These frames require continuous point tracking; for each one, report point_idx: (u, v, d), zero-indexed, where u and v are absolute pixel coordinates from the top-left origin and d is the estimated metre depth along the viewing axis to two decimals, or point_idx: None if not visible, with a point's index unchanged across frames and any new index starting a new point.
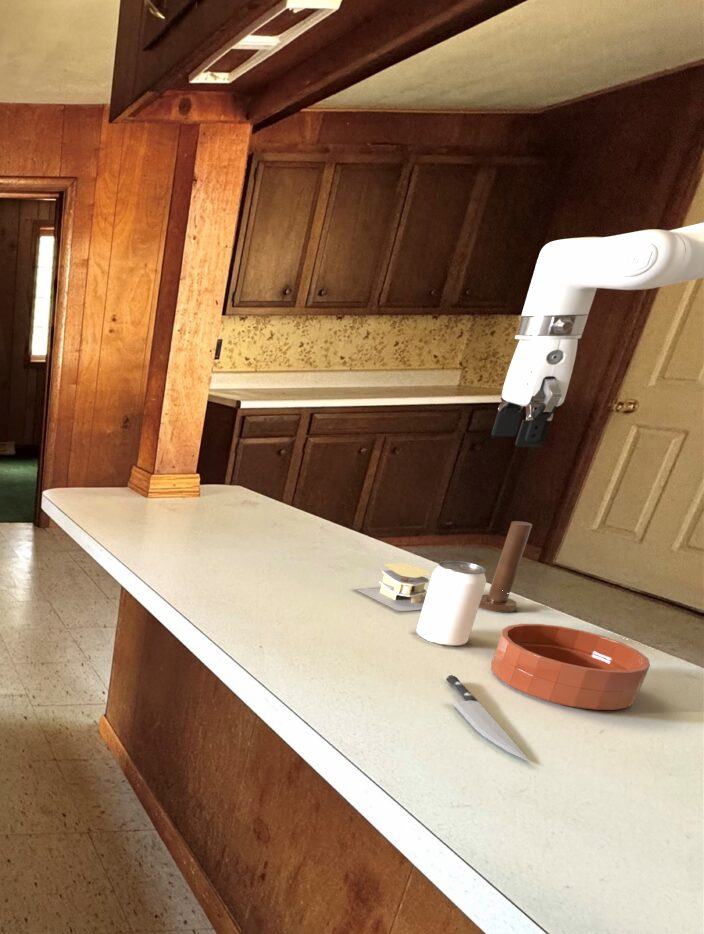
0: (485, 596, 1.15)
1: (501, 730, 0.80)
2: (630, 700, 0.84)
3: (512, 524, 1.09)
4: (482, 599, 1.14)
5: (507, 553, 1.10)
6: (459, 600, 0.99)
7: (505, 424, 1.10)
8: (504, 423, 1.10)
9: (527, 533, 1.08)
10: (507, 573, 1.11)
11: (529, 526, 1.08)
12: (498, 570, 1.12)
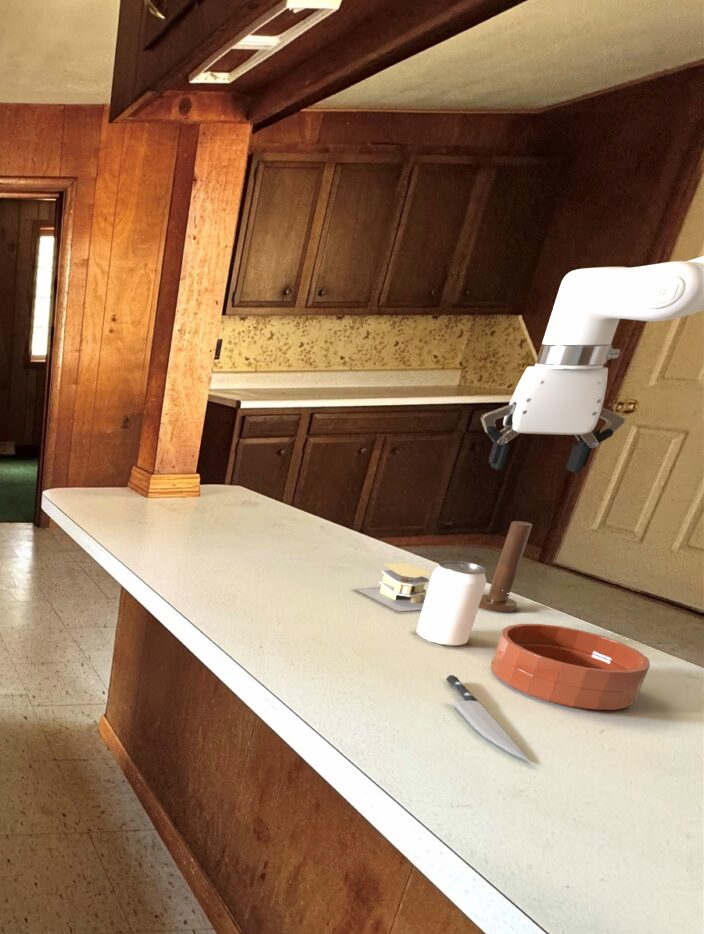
0: (485, 596, 1.15)
1: (501, 730, 0.80)
2: (630, 700, 0.84)
3: (512, 524, 1.09)
4: (482, 599, 1.14)
5: (507, 553, 1.10)
6: (459, 600, 0.99)
7: None
8: None
9: (527, 533, 1.08)
10: (507, 573, 1.11)
11: (529, 526, 1.08)
12: (498, 570, 1.12)
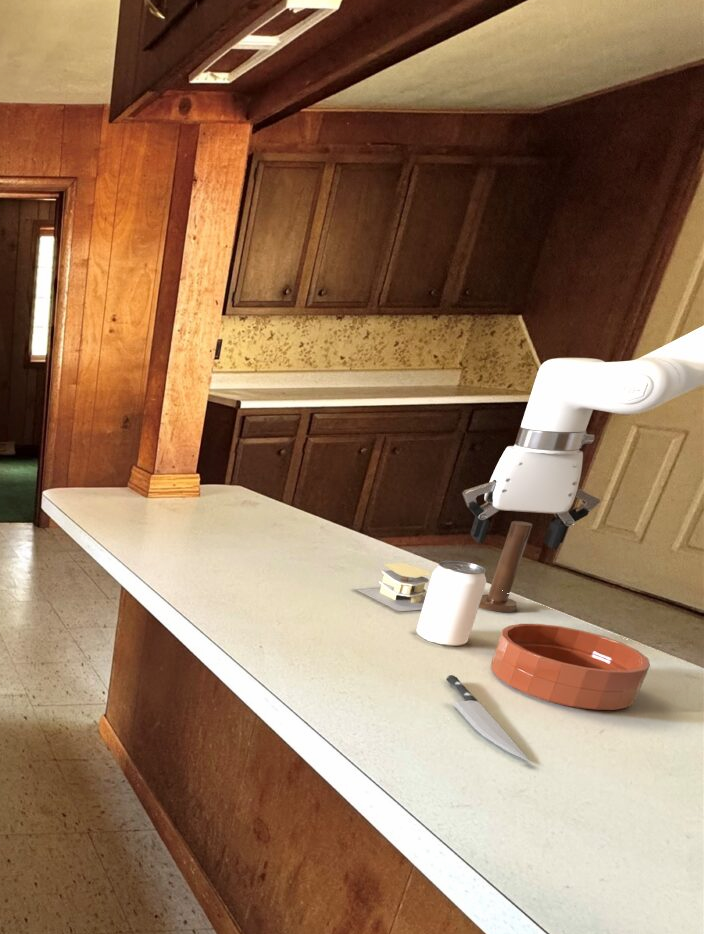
0: (485, 596, 1.15)
1: (501, 730, 0.80)
2: (630, 700, 0.84)
3: (512, 524, 1.09)
4: (482, 599, 1.14)
5: (507, 553, 1.10)
6: (459, 600, 0.99)
7: None
8: None
9: (527, 533, 1.08)
10: (507, 573, 1.11)
11: (529, 526, 1.08)
12: (498, 570, 1.12)
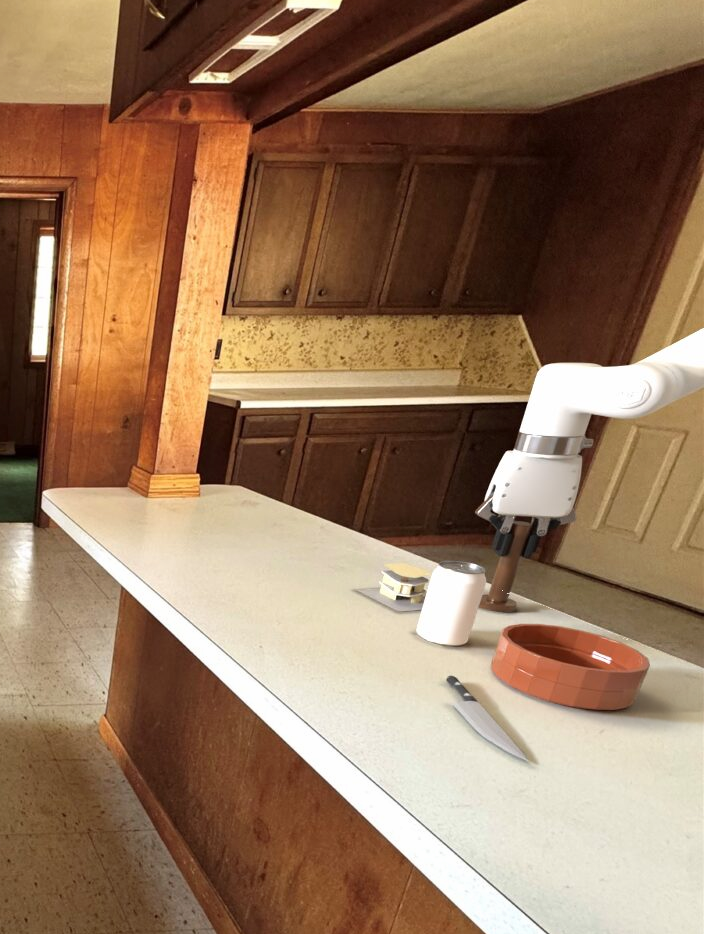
0: (485, 596, 1.15)
1: (501, 730, 0.80)
2: (630, 700, 0.84)
3: (512, 524, 1.09)
4: (482, 599, 1.14)
5: (507, 553, 1.10)
6: (459, 600, 0.99)
7: None
8: None
9: (527, 533, 1.08)
10: (507, 573, 1.11)
11: (529, 526, 1.08)
12: (498, 570, 1.12)
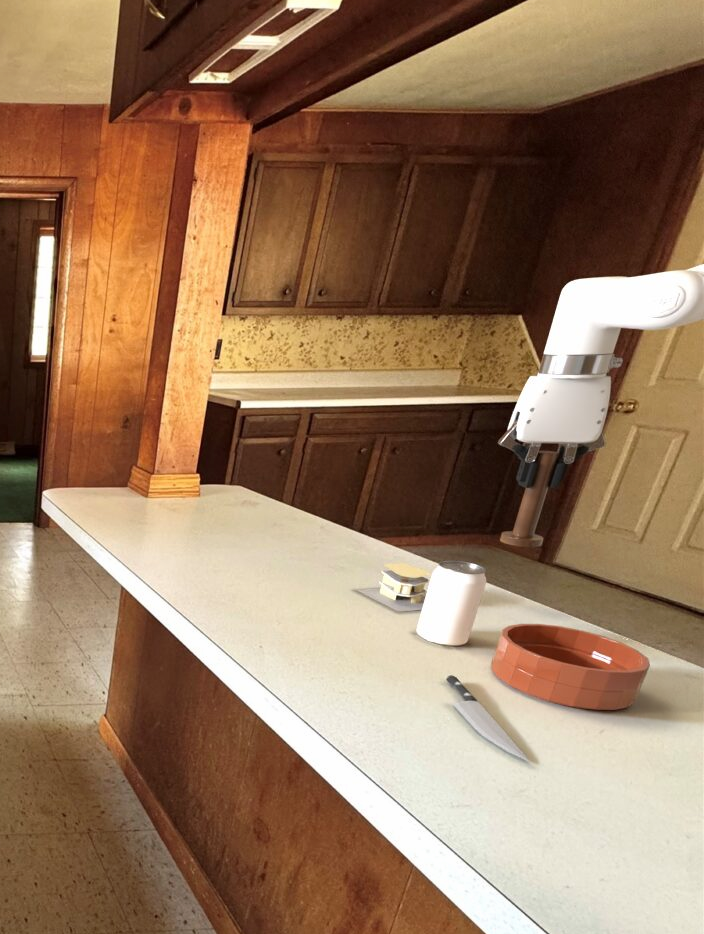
0: (509, 532, 1.11)
1: (501, 730, 0.80)
2: (630, 700, 0.84)
3: None
4: (507, 535, 1.10)
5: (533, 485, 1.06)
6: (459, 600, 0.99)
7: None
8: None
9: (553, 462, 1.04)
10: (533, 505, 1.06)
11: (555, 454, 1.03)
12: (523, 503, 1.07)
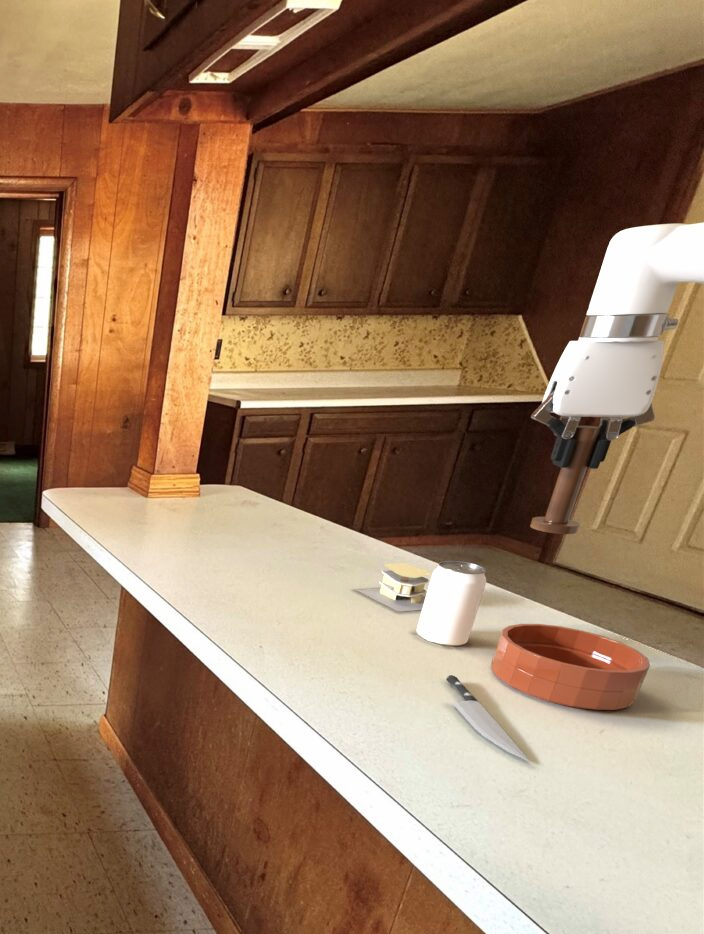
0: (541, 518, 0.99)
1: (501, 730, 0.80)
2: (630, 700, 0.84)
3: (576, 428, 0.93)
4: (538, 521, 0.98)
5: (570, 464, 0.94)
6: (459, 600, 0.99)
7: None
8: None
9: (594, 438, 0.92)
10: (569, 487, 0.95)
11: (597, 429, 0.92)
12: (558, 485, 0.96)
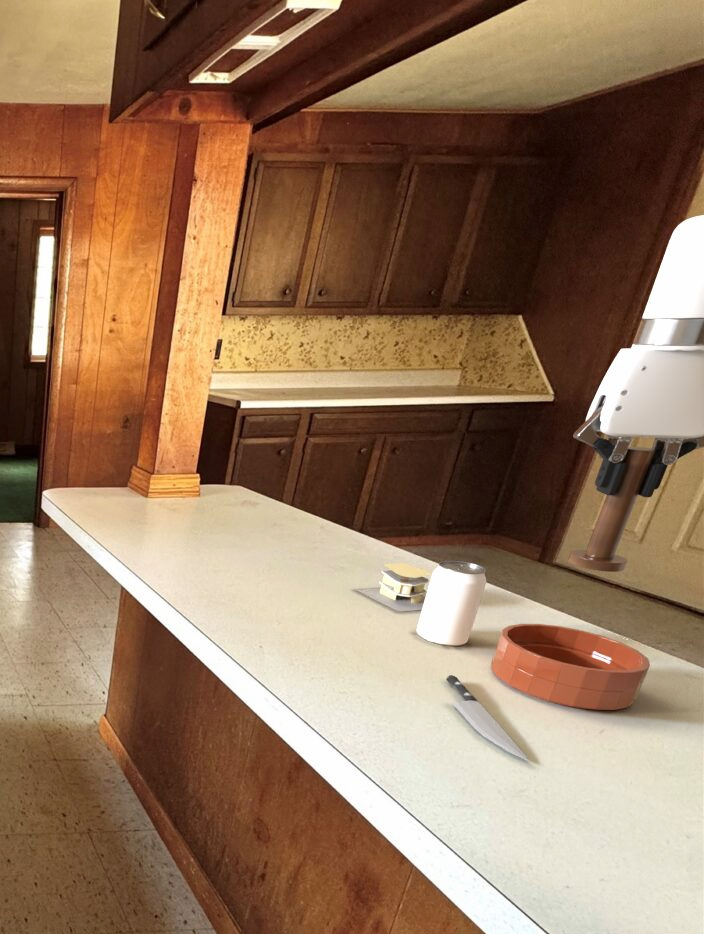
0: (581, 552, 0.86)
1: (501, 730, 0.80)
2: (630, 700, 0.84)
3: None
4: (578, 555, 0.85)
5: (618, 491, 0.81)
6: (459, 600, 0.99)
7: None
8: None
9: (648, 462, 0.79)
10: (616, 518, 0.82)
11: (652, 452, 0.79)
12: (602, 514, 0.83)
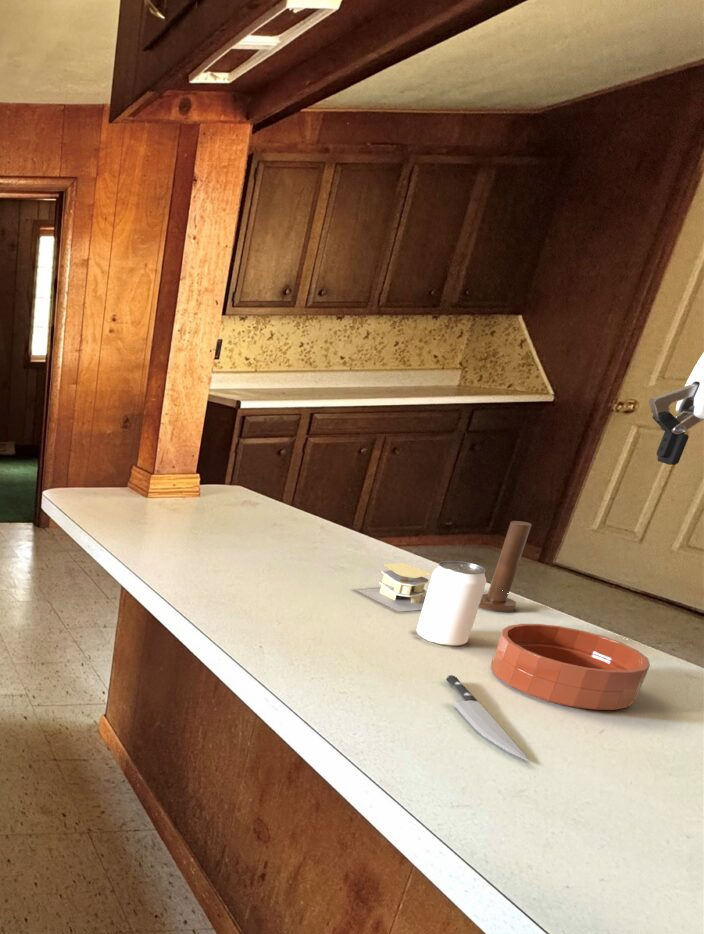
0: (484, 596, 1.16)
1: (501, 730, 0.80)
2: (630, 700, 0.84)
3: (511, 524, 1.09)
4: (481, 599, 1.14)
5: (506, 553, 1.10)
6: (459, 600, 0.99)
7: None
8: None
9: (526, 533, 1.08)
10: (506, 573, 1.11)
11: (528, 526, 1.08)
12: (497, 570, 1.12)
